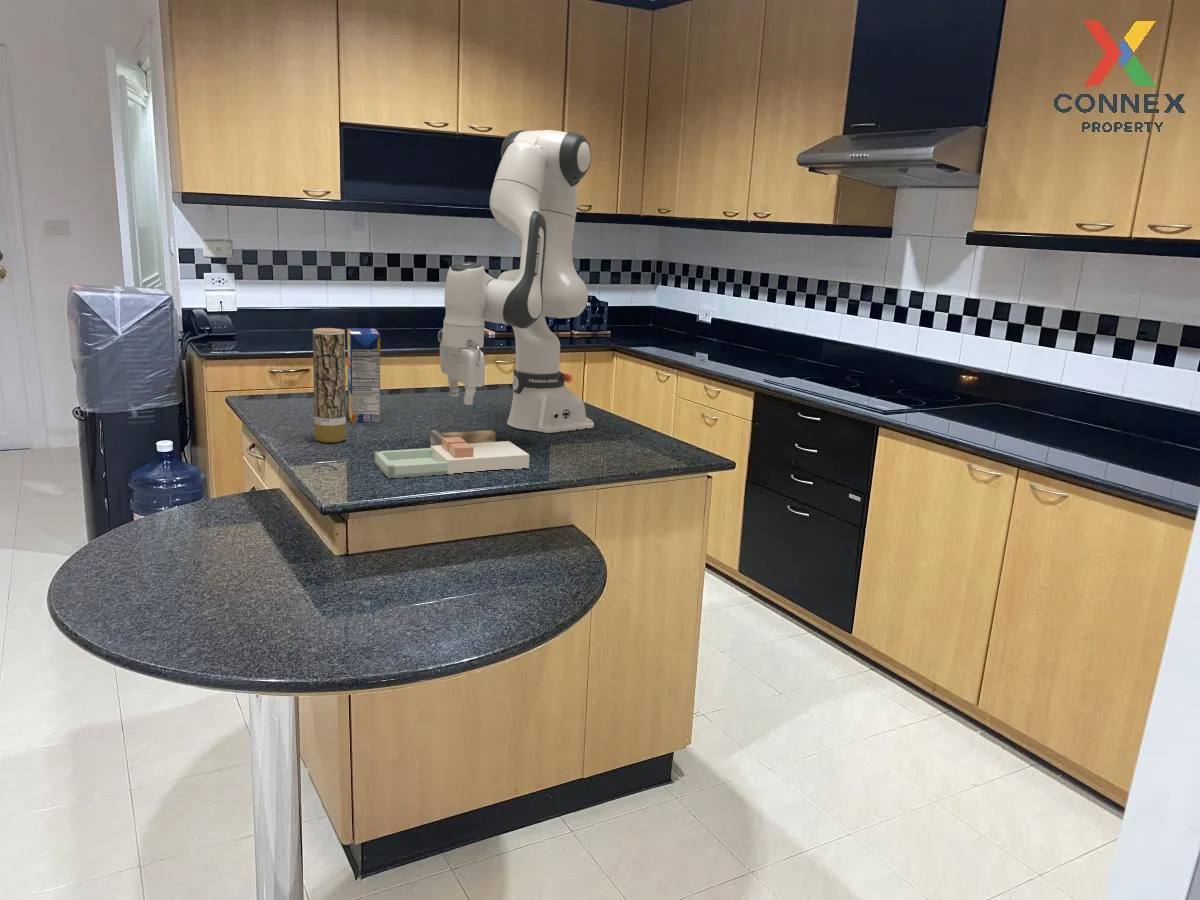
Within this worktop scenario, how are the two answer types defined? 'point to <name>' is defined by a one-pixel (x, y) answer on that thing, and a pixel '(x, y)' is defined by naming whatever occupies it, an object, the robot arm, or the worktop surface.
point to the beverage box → (363, 375)
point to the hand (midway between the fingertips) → (460, 400)
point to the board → (484, 457)
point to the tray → (409, 463)
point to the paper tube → (329, 384)
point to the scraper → (463, 436)
